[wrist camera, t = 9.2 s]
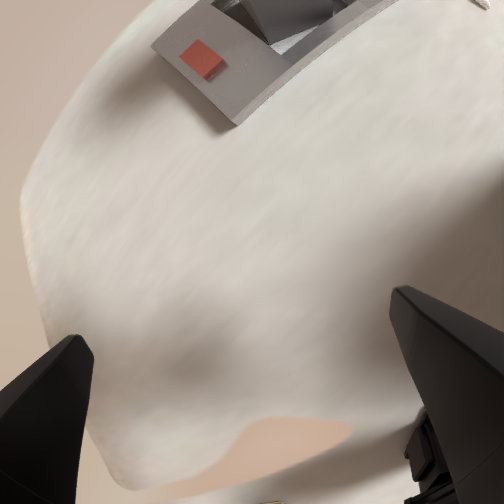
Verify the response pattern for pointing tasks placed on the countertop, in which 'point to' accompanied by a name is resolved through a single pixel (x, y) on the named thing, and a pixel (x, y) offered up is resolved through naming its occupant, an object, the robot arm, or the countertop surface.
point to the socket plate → (247, 53)
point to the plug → (287, 16)
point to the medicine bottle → (275, 503)
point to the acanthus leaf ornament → (484, 3)
